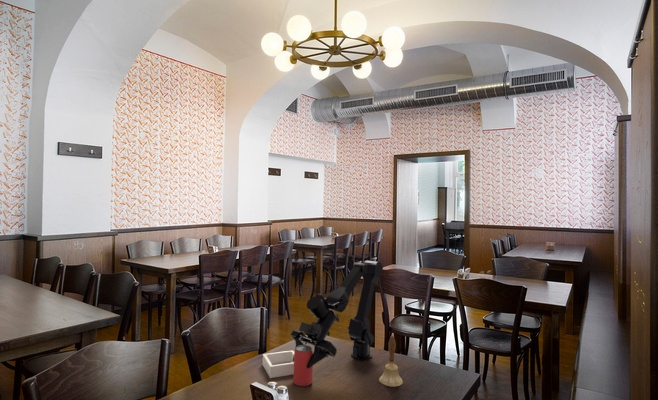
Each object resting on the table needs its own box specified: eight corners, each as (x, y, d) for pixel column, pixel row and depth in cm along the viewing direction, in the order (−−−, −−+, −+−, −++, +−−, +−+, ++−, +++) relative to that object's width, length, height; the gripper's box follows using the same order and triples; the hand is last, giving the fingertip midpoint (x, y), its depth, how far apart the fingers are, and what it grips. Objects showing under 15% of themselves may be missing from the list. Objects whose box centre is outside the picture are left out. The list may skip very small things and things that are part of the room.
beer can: (309, 388, 129) (310, 352, 129) (291, 386, 130) (291, 350, 130) (314, 379, 135) (315, 345, 135) (296, 377, 136) (297, 343, 136)
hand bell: (407, 381, 136) (408, 336, 136) (394, 389, 130) (395, 342, 130) (387, 373, 141) (388, 330, 141) (374, 381, 135) (375, 335, 135)
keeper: (292, 360, 151) (292, 350, 151) (302, 373, 140) (302, 362, 140) (262, 364, 147) (262, 354, 147) (270, 378, 136) (270, 366, 136)
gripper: (294, 307, 142) (270, 345, 134) (331, 318, 129) (307, 361, 121) (309, 324, 148) (287, 361, 139) (346, 336, 135) (324, 377, 127)
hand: (300, 364), depth 131 cm, fingers closed on beer can, 7 cm apart
